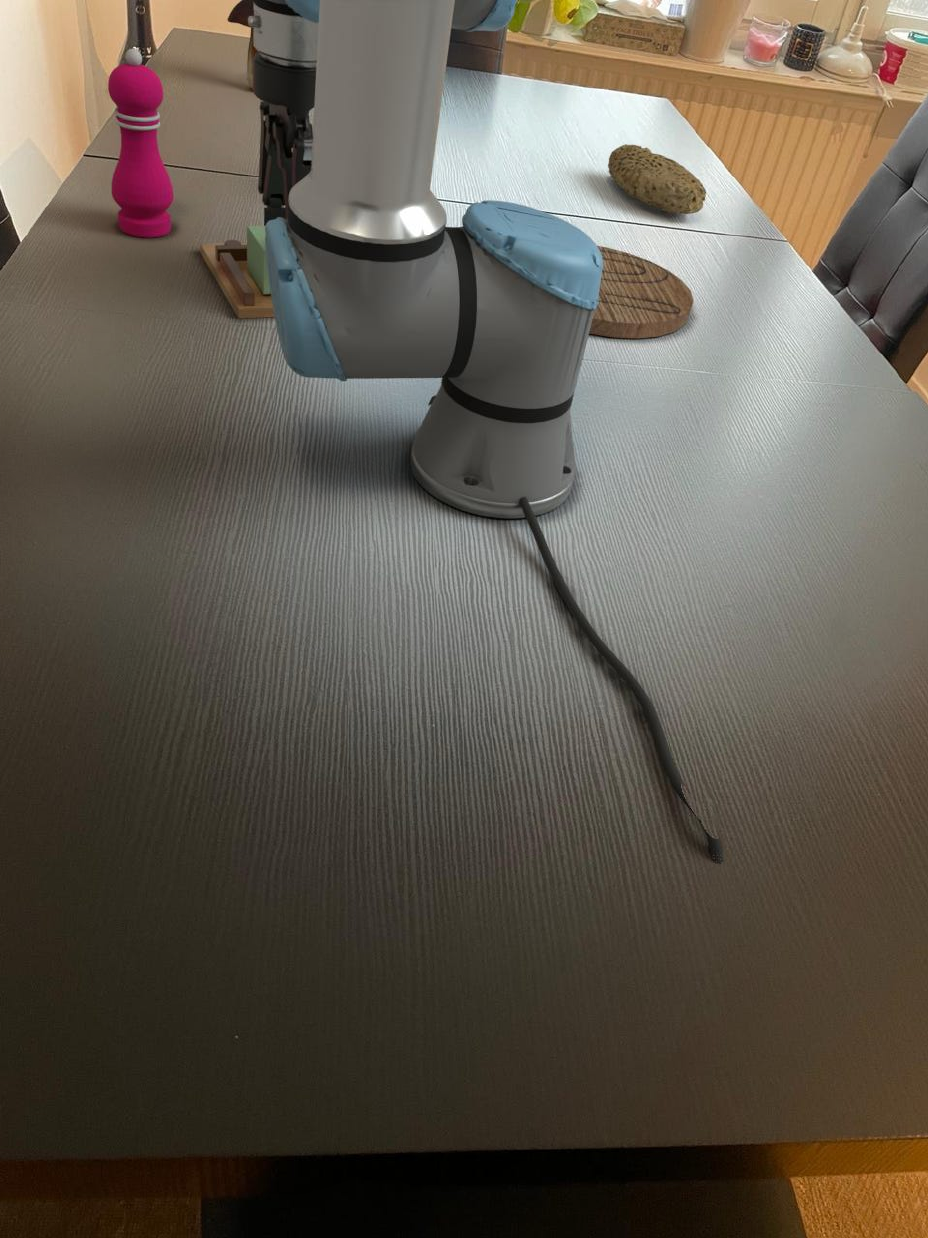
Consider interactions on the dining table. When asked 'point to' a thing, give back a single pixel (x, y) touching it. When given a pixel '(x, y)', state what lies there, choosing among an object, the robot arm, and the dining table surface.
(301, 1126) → the dining table surface
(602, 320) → the trivet
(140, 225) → the pepper mill
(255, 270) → the green block
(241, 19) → the decorative mushroom
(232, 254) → the wooden tray
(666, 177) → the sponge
